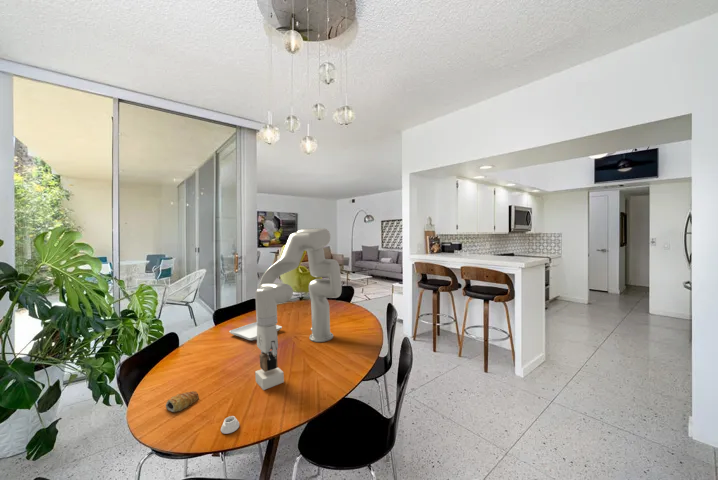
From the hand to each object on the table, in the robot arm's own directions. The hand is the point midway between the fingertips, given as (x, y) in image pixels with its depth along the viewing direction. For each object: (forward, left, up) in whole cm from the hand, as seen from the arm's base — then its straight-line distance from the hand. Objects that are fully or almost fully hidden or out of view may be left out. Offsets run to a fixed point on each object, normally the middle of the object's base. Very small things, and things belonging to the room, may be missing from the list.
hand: (268, 366), depth 110 cm
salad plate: (-55, +14, -7) cm, 57 cm away
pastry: (-6, -28, -7) cm, 30 cm away
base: (0, 0, -6) cm, 6 cm away
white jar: (+17, -19, -7) cm, 26 cm away
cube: (0, 0, -1) cm, 1 cm away
